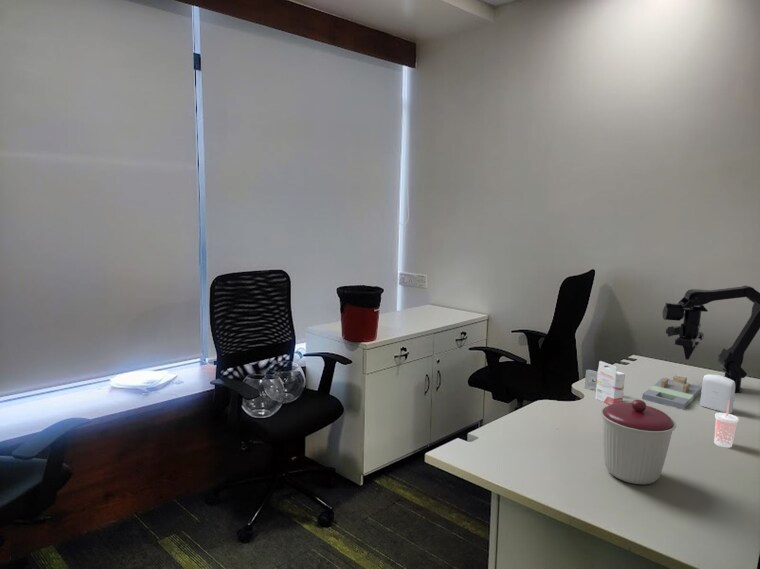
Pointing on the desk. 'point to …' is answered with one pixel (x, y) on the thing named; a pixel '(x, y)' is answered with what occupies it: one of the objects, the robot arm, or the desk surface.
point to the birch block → (679, 380)
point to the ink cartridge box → (609, 384)
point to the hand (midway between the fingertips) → (687, 359)
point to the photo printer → (717, 393)
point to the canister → (635, 441)
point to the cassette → (591, 380)
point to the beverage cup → (725, 428)
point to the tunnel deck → (672, 393)
